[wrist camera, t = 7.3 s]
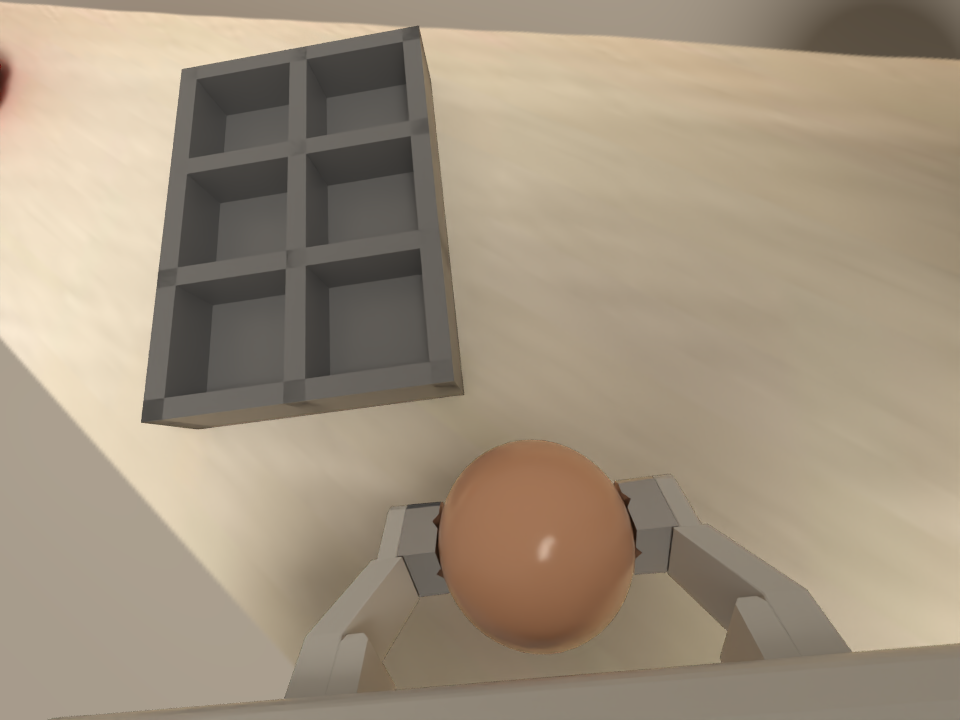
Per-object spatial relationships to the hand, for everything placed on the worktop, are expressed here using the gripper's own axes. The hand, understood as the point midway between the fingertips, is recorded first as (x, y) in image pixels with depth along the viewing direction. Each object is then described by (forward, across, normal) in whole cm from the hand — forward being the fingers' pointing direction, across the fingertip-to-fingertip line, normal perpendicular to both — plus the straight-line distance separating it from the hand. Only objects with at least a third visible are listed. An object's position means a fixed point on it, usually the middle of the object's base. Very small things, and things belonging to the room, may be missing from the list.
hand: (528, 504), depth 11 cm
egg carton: (+21, +12, -5) cm, 25 cm away
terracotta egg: (+3, 0, +4) cm, 4 cm away
